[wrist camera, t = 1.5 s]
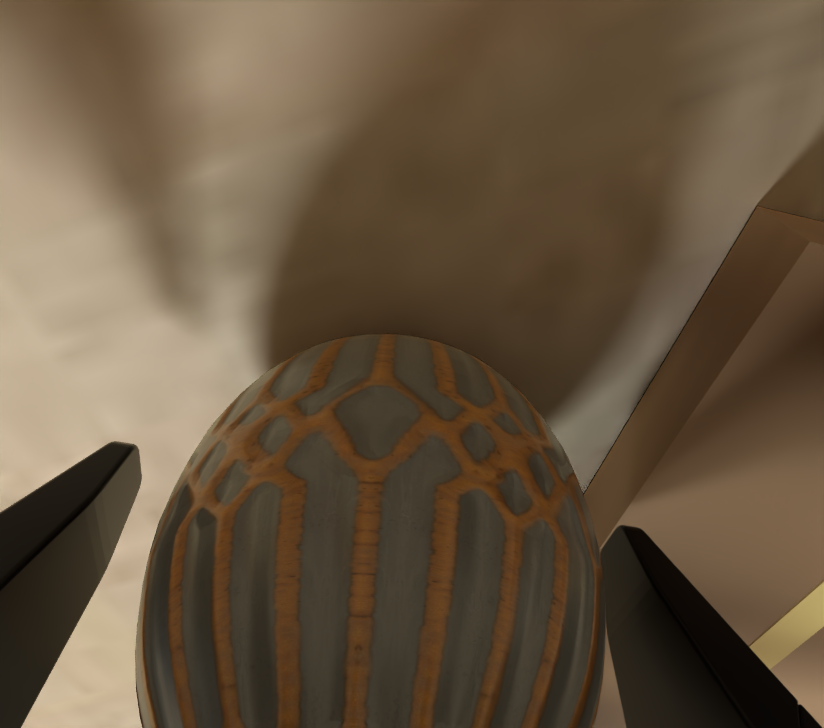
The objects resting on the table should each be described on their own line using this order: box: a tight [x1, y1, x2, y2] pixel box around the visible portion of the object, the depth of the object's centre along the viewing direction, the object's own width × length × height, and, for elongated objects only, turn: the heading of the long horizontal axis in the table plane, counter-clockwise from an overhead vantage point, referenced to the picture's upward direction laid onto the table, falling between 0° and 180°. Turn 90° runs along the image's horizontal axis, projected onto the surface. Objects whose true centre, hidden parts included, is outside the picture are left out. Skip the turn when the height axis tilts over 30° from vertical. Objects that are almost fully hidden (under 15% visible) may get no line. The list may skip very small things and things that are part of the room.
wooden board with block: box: [584, 206, 824, 728], centre depth 13 cm, size 20×12×6 cm, turn 168°
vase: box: [135, 334, 606, 728], centre depth 8 cm, size 7×7×9 cm
